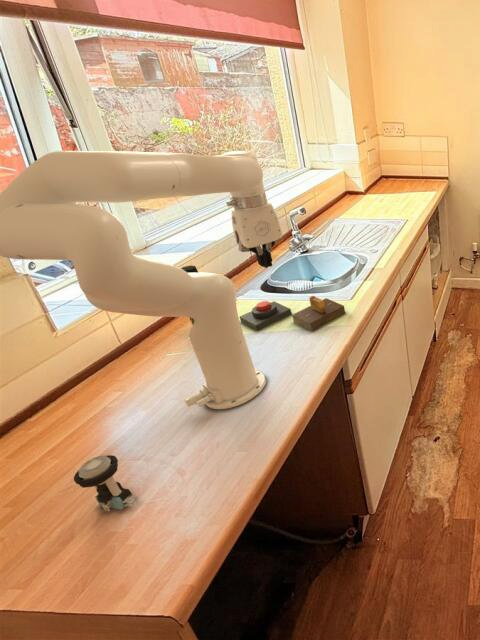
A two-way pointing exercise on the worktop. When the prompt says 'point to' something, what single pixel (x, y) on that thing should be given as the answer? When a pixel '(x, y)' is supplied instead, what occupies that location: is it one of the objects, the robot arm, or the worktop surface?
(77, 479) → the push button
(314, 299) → the lock turn
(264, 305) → the bell button
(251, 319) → the doorbell
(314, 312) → the plate
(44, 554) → the worktop surface
